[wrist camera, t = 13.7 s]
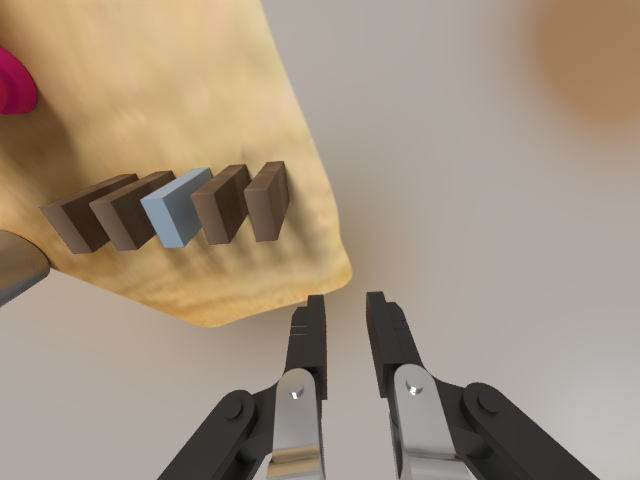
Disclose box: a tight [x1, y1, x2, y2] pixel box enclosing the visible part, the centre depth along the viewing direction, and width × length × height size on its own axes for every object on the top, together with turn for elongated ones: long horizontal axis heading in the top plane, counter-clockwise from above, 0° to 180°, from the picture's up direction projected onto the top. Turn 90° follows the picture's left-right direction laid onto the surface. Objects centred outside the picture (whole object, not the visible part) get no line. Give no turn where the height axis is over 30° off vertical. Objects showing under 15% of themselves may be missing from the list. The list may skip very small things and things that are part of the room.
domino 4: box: [190, 164, 250, 245], centre depth 26 cm, size 2×5×10 cm, turn 5°
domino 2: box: [89, 171, 175, 251], centre depth 27 cm, size 2×5×10 cm, turn 5°
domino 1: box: [39, 174, 139, 254], centre depth 27 cm, size 2×5×10 cm, turn 5°
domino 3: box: [140, 168, 212, 248], centre depth 26 cm, size 2×5×10 cm, turn 5°
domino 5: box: [244, 161, 290, 242], centre depth 26 cm, size 2×5×10 cm, turn 5°
